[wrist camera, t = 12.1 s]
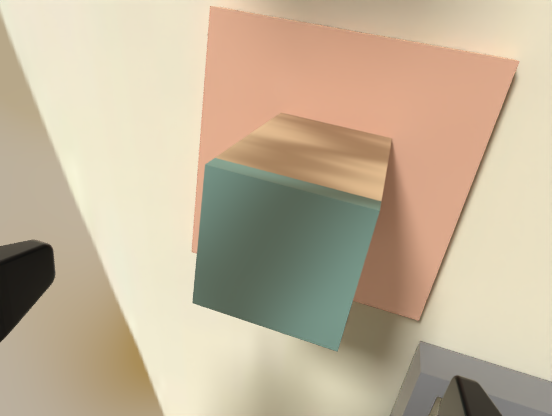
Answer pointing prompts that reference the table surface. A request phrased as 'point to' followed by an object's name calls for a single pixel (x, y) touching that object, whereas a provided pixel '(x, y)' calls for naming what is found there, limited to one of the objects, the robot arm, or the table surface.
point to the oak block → (290, 226)
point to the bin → (493, 378)
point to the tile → (363, 126)
